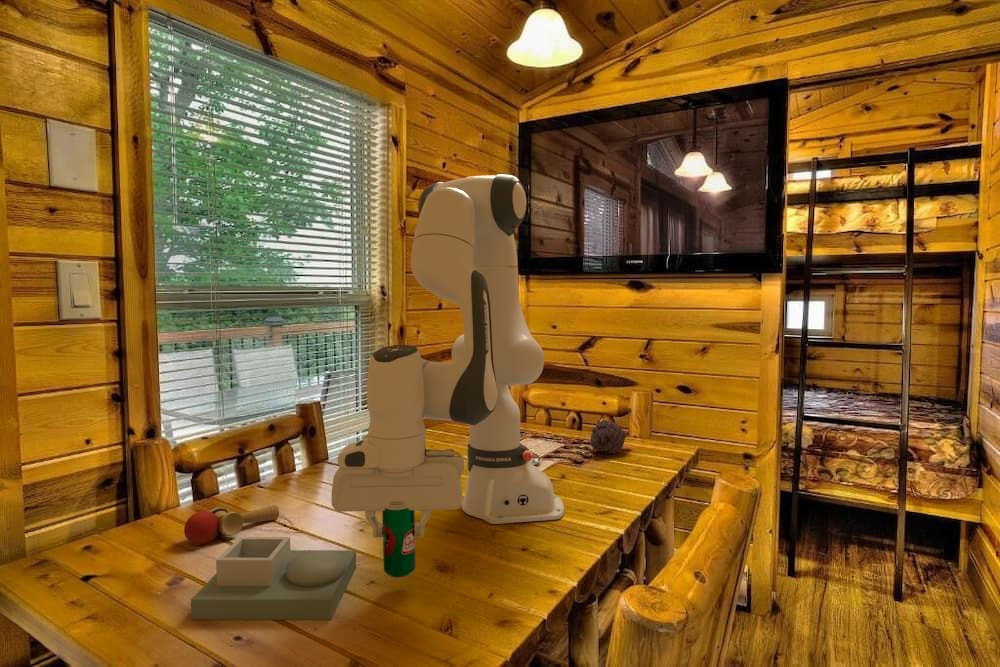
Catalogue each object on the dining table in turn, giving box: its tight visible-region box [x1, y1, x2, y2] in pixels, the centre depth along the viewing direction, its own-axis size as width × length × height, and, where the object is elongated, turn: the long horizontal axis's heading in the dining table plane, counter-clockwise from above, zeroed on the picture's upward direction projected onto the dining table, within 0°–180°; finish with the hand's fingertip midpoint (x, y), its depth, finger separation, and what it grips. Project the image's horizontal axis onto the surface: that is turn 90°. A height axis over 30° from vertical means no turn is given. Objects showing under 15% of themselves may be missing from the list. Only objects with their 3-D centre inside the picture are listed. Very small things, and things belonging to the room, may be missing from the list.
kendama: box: [183, 504, 280, 546], centre depth 114 cm, size 8×6×18 cm
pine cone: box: [589, 419, 630, 454], centre depth 172 cm, size 18×10×10 cm, turn 139°
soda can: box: [381, 502, 417, 579], centre depth 92 cm, size 5×5×12 cm
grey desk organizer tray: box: [190, 536, 357, 621], centre depth 91 cm, size 20×16×7 cm
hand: (399, 535), depth 92 cm, fingers closed on soda can, 5 cm apart
